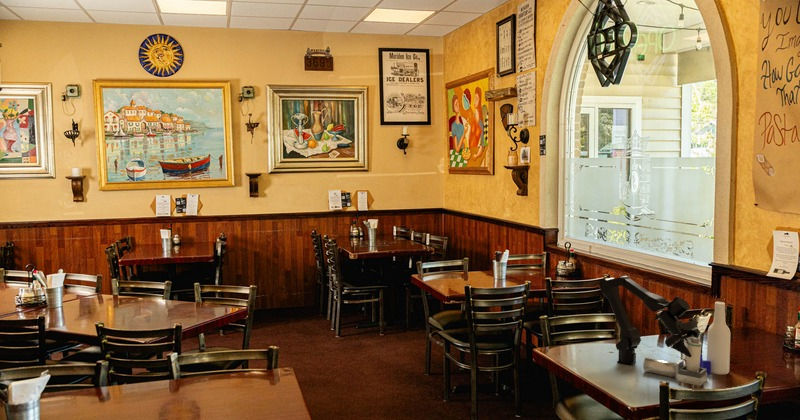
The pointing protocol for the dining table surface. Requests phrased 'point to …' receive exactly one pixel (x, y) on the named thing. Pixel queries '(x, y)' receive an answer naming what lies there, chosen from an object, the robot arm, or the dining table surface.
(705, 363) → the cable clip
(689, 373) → the grey cylinder with box
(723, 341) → the alcohol
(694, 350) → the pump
